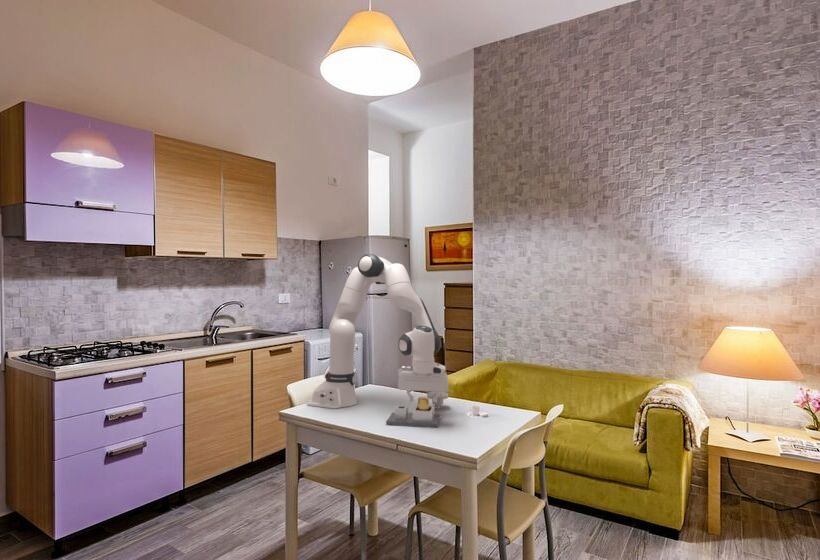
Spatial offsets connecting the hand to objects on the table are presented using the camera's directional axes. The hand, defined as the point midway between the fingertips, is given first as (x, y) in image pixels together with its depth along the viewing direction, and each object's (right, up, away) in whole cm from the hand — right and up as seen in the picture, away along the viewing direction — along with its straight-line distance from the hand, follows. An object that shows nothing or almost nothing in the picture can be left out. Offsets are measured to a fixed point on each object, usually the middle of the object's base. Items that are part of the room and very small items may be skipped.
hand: (423, 401), depth 183 cm
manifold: (-4, -8, +1) cm, 9 cm away
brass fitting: (0, -7, 0) cm, 7 cm away
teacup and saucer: (+22, -9, +7) cm, 25 cm away
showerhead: (+7, -8, +20) cm, 23 cm away
